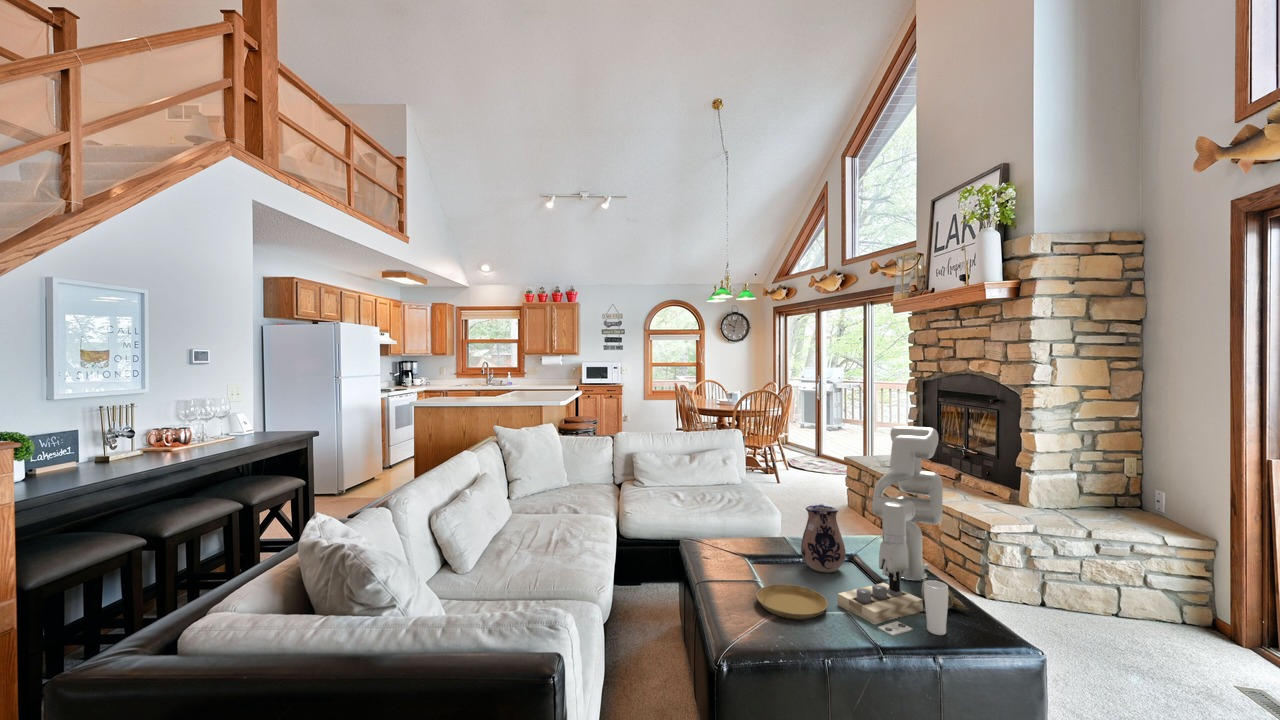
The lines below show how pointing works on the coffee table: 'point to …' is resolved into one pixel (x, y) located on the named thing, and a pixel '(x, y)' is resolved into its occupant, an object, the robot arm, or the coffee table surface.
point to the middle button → (879, 592)
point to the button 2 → (895, 593)
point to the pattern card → (895, 628)
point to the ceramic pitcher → (822, 540)
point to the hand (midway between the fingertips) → (894, 590)
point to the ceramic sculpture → (951, 600)
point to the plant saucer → (792, 601)
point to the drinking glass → (936, 606)
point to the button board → (881, 605)
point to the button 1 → (863, 596)
